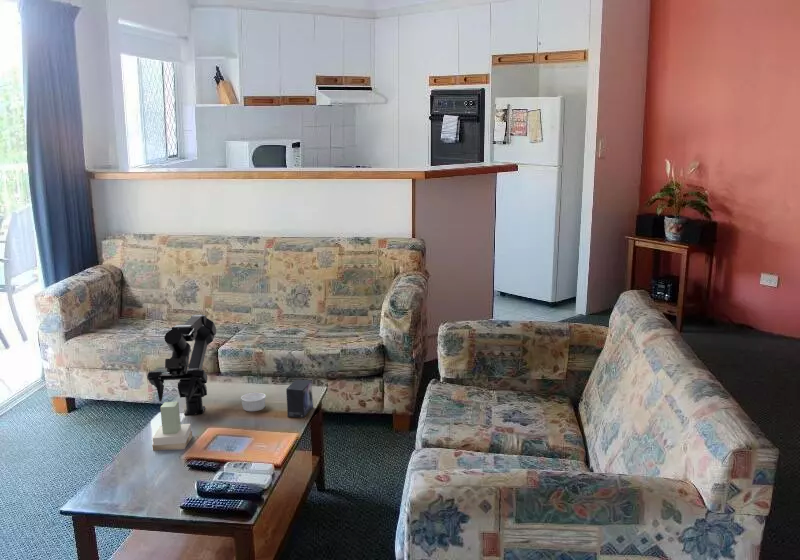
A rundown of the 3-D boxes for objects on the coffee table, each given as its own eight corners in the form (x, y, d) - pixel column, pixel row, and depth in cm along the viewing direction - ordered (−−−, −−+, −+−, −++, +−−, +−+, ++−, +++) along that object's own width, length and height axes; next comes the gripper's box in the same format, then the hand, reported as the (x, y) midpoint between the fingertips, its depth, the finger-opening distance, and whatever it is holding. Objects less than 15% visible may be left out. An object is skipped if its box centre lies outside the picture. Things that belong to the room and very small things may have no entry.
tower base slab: (162, 439, 248) (161, 432, 248) (192, 438, 248) (191, 431, 248) (153, 452, 239) (152, 444, 238) (184, 451, 239) (183, 443, 238)
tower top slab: (160, 432, 247) (159, 425, 247) (191, 430, 248) (190, 423, 248) (153, 445, 238) (152, 438, 237) (185, 443, 238) (184, 435, 238)
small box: (304, 418, 261) (302, 389, 258) (286, 417, 262) (285, 389, 260) (314, 407, 271) (312, 379, 269) (297, 406, 272) (295, 378, 270)
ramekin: (271, 405, 274) (270, 394, 273) (254, 413, 266) (253, 402, 265) (253, 401, 278) (252, 390, 277) (236, 409, 271) (235, 398, 270)
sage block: (167, 428, 245) (164, 402, 243) (180, 427, 244) (178, 401, 243) (162, 433, 240) (160, 407, 238) (176, 433, 240) (174, 406, 238)
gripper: (145, 348, 248) (138, 391, 239) (202, 346, 248) (196, 389, 240) (155, 363, 257) (148, 405, 249) (209, 361, 257) (204, 403, 249)
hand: (174, 400), depth 246 cm, fingers open, 9 cm apart
